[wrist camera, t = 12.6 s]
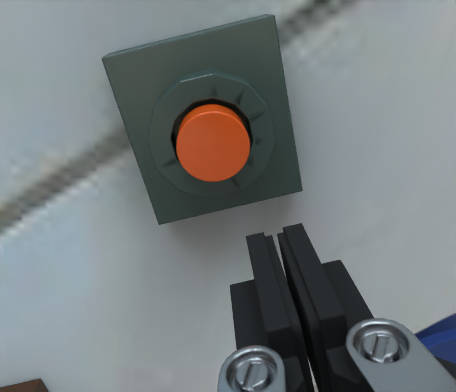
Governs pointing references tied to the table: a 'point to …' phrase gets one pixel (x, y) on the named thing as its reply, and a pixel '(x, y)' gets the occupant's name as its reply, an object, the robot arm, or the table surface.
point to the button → (212, 143)
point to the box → (201, 95)
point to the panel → (26, 387)
